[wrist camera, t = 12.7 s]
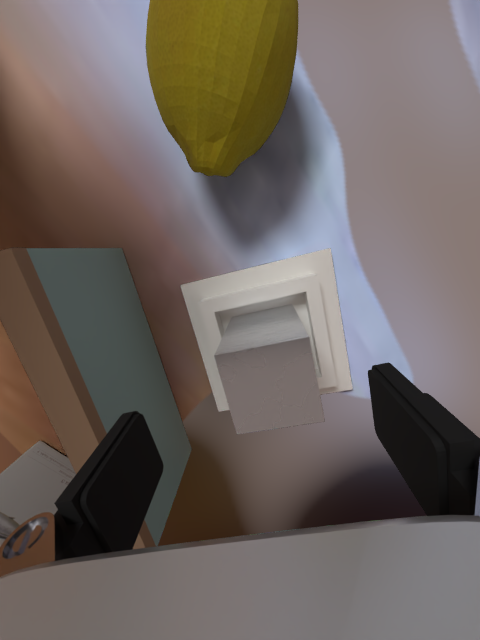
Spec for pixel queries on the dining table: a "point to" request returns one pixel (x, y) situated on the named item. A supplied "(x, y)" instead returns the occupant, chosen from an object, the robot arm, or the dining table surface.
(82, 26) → the dining table surface
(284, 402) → the block
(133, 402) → the door board
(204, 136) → the lemon
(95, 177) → the dining table surface
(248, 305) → the cradle
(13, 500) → the supplement box
